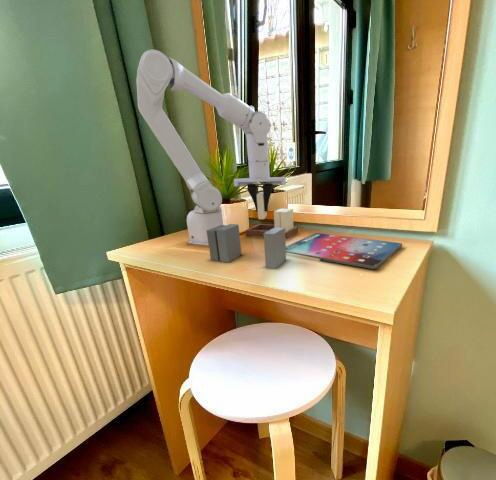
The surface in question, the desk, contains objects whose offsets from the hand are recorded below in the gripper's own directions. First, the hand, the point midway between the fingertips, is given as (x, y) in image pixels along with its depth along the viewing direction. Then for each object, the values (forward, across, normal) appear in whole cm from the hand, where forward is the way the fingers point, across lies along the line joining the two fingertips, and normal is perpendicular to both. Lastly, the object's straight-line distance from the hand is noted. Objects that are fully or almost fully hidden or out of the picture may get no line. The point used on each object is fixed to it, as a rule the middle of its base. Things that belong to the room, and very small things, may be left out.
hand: (262, 211), depth 89 cm
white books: (+6, +7, -2) cm, 9 cm away
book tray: (+7, +3, -1) cm, 8 cm away
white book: (+2, 0, 0) cm, 2 cm away
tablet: (+7, +22, -16) cm, 28 cm away
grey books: (+7, 0, -23) cm, 24 cm away
